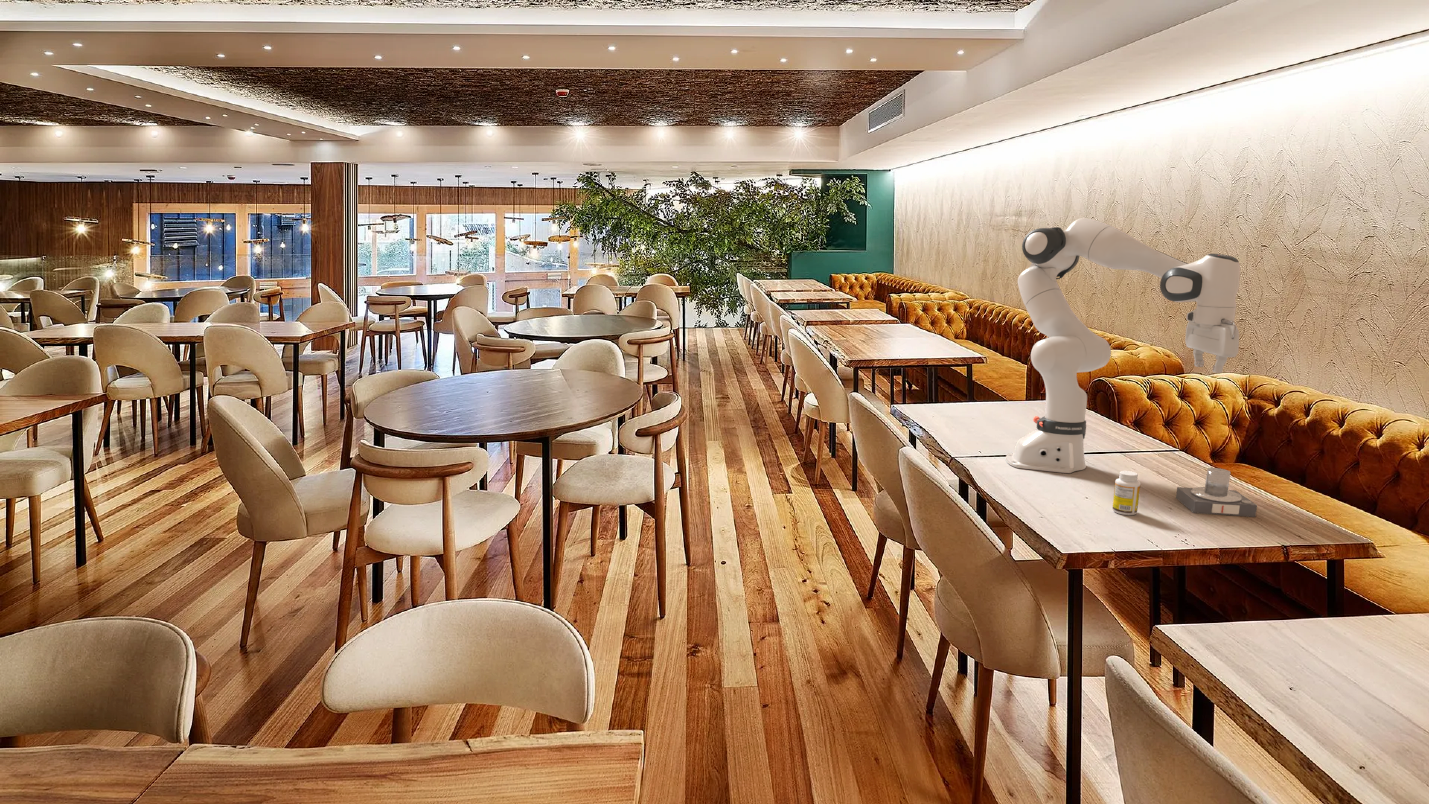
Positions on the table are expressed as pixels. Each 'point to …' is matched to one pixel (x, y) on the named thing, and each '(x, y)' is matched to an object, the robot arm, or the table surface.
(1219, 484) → the cylinder
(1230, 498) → the scale pan
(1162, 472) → the table surface
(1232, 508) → the scale base
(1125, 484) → the supplement bottle
